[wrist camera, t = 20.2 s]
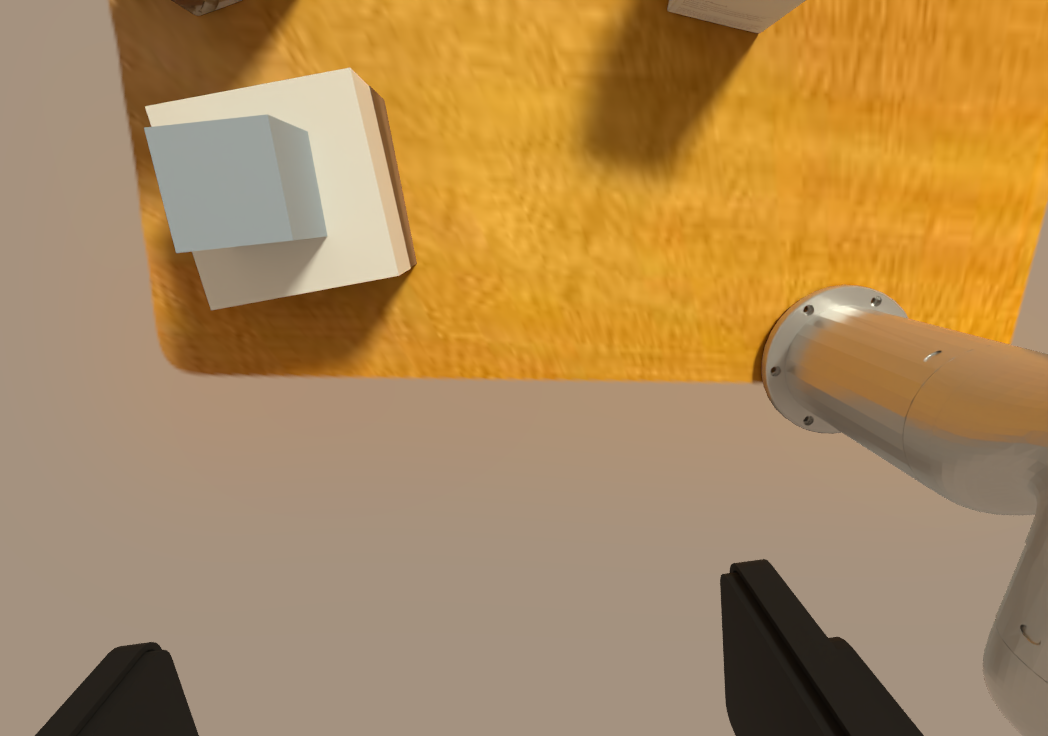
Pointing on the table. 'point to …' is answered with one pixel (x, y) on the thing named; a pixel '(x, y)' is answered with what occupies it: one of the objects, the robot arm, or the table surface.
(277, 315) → the table surface
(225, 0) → the coffee box
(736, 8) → the supplement box
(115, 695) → the robot arm
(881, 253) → the table surface
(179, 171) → the stack block
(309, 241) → the tower top block
